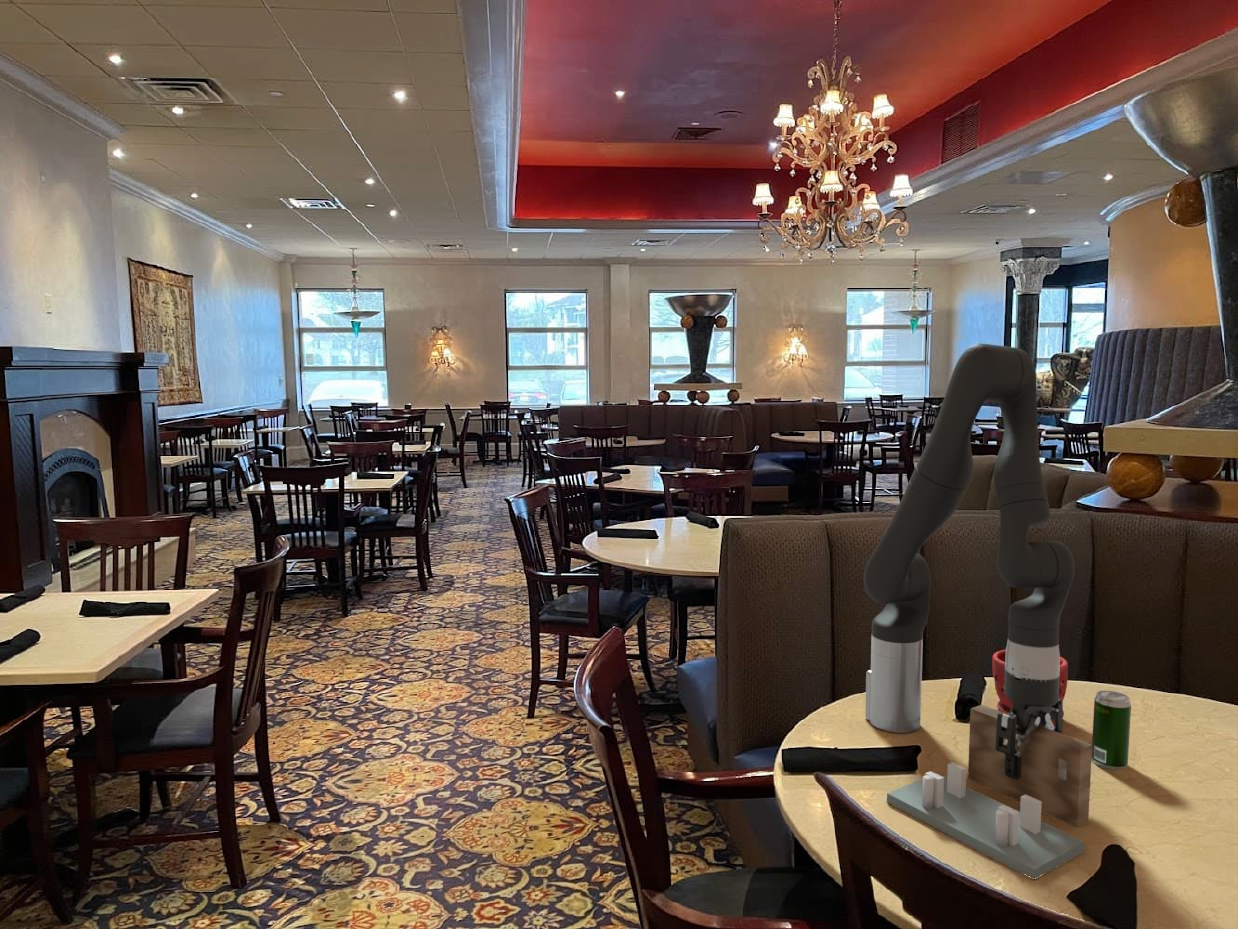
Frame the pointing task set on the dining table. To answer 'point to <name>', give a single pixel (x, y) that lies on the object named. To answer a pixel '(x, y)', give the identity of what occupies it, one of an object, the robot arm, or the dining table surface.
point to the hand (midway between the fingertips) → (1028, 770)
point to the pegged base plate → (987, 822)
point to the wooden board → (1034, 767)
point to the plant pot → (999, 679)
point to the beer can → (1111, 730)
